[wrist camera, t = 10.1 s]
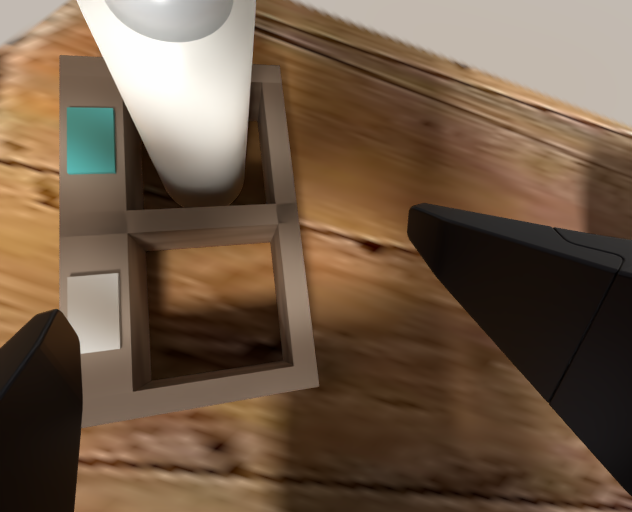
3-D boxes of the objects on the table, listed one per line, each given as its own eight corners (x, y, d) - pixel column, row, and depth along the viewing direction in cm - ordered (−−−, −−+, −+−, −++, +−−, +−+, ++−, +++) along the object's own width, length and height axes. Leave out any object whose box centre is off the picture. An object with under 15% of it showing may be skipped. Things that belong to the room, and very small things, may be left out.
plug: (259, 186, 21) (295, -16, 9) (191, 226, 19) (123, 53, 7) (215, 125, 21) (191, -156, 9) (145, 161, 20) (6, -111, 8)
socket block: (304, 377, 19) (320, 387, 16) (94, 412, 17) (56, 433, 13) (272, 106, 22) (280, 62, 18) (88, 102, 19) (57, 51, 16)
